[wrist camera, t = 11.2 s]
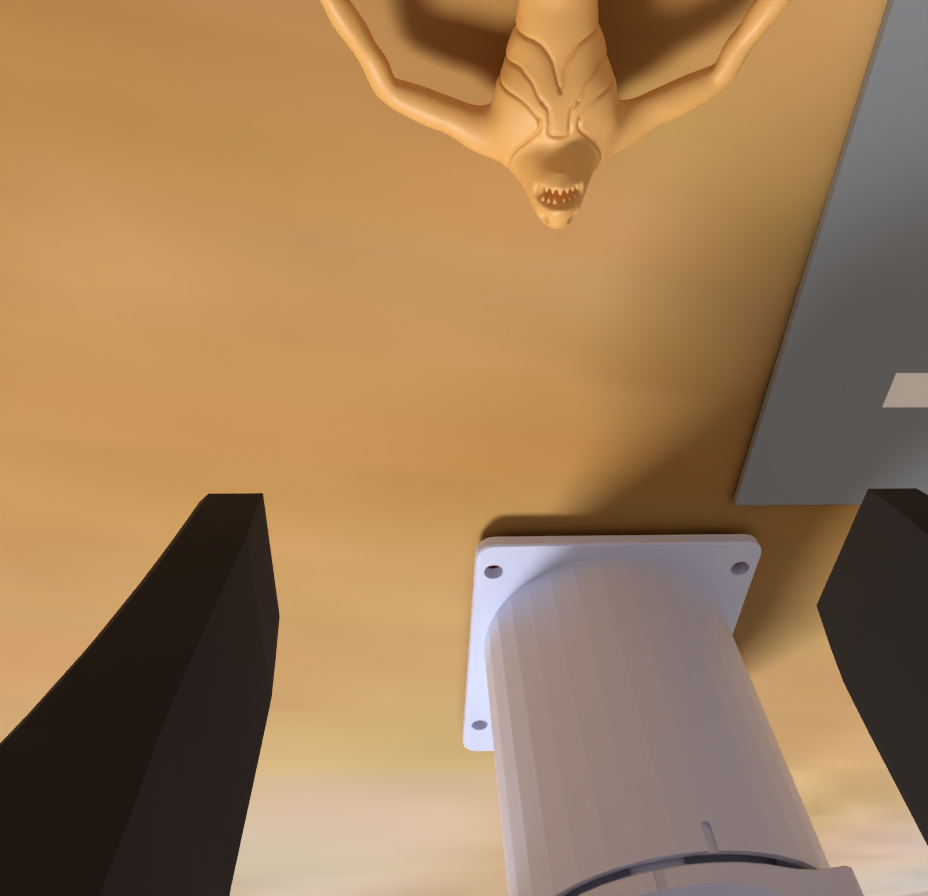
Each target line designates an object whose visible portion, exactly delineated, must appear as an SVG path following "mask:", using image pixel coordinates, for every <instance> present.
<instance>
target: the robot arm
mask: <svg viewBox="0 0 928 896" xmlns="http://www.w3.org/2000/svg"><path fill="white" fill-rule="evenodd" d="M760 556H761V547H760V545H759V543H758V542H757V540H756V538H755V537H753V536H752V535H748V534H694V535H600V536H507V537H489V538H486V539H484V540H482V541H481V542H480V543H479V544H478V545H477V547H476V550H475V564H474V578H473V592H472V606H471V621H470V635H469V649H468V663H467V678H466V692H465V706H464V720H463V744H464V746H465V747H466V748H467V749H469V750H472V751H494V757H495V767H496V777H497V787H498V796H499V806H500V816H501V825H502V835H503V845H504V855H505V864H506V874H507V884H508V893H509V896H864V895H863V892H862V890H861V888H860V886H859V883H858V881H857V879H856V877H855V874H854V872H853V870H852V868H850V867H848V866H841V867H834V868H830V866H829V864H828V861H827V859H826V856H825V854H824V852H823V849H822V847H821V845H820V842H819V840H818V837H817V835H816V833H815V830H814V828H813V826H812V823H811V821H810V818H809V816H808V814H807V811H806V809H805V807H804V804H803V802H802V799H801V797H800V795H799V792H798V790H797V788H796V785H795V783H794V780H793V778H792V776H791V773H790V771H789V769H788V766H787V764H786V761H785V759H784V757H783V754H782V752H781V750H780V747H779V745H778V743H777V740H776V738H775V735H774V733H773V731H772V728H771V726H770V724H769V721H768V719H767V716H766V714H765V712H764V709H763V707H762V705H761V702H760V700H759V697H758V695H757V693H756V690H755V688H754V686H753V683H752V681H751V678H750V676H749V674H748V671H747V669H746V667H745V664H744V662H743V659H742V657H741V655H740V652H739V650H738V648H737V645H736V643H735V640H734V638H733V636H732V634H733V632H734V629H735V626H736V623H737V620H738V618H739V615H740V612H741V609H742V606H743V604H744V601H745V598H746V595H747V592H748V590H749V587H750V584H751V581H752V578H753V576H754V573H755V570H756V567H757V564H758V561H759V559H760ZM738 562H741V563H740V564H738V565H734V564H736V563H738ZM492 565H496V566H498V567H497V568H493V569H490V568H487V567H489V566H492ZM817 608H818V611H819V614H820V617H821V620H822V623H823V626H824V629H825V632H826V635H827V638H828V641H829V644H830V647H831V650H832V653H833V655H834V658H835V661H836V663H837V666H838V669H839V671H840V674H841V677H842V679H843V682H844V684H845V686H846V688H847V690H848V692H849V694H850V696H851V698H852V700H853V702H854V704H855V706H856V708H857V710H858V712H859V714H860V716H861V718H862V720H863V722H864V724H865V726H866V728H867V730H868V732H869V734H870V736H871V737H872V739H873V741H874V743H875V745H876V747H877V749H878V751H879V753H880V755H881V757H882V759H883V761H884V763H885V764H886V766H887V768H888V770H889V772H890V774H891V776H892V778H893V780H894V782H895V784H896V786H897V787H898V789H899V791H900V793H901V795H902V797H903V799H904V801H905V803H906V805H907V807H908V809H909V811H910V812H911V814H912V816H913V818H914V820H915V822H916V824H917V826H918V828H919V830H920V832H921V834H922V836H923V837H924V839H925V841H926V843H927V845H928V495H927V494H925V493H924V492H922V491H920V490H918V489H917V488H892V489H868V490H867V492H866V495H865V497H864V499H863V501H862V504H861V506H860V508H859V510H858V513H857V515H856V517H855V520H854V522H853V524H852V526H851V529H850V531H849V533H848V535H847V538H846V540H845V542H844V545H843V547H842V549H841V551H840V554H839V556H838V558H837V560H836V563H835V565H834V567H833V570H832V572H831V574H830V576H829V579H828V581H827V583H826V585H825V588H824V590H823V592H822V594H821V597H820V599H819V601H818V604H817ZM278 626H279V609H278V602H277V594H276V587H275V580H274V572H273V565H272V557H271V550H270V543H269V535H268V528H267V521H266V513H265V506H264V499H263V493H255V494H208V495H207V496H206V497H205V498H203V499H202V500H201V501H200V502H199V504H198V505H197V506H196V508H195V509H194V511H193V512H192V514H191V515H190V516H189V518H188V519H187V521H186V522H185V523H184V525H183V526H182V528H181V529H180V530H179V532H178V533H177V535H176V536H175V537H174V539H173V540H172V541H171V543H170V544H169V546H168V547H167V548H166V550H165V551H164V552H163V554H162V555H161V556H160V558H159V559H158V560H157V562H156V563H155V564H154V566H153V567H152V568H151V570H150V571H149V572H148V573H147V575H146V576H145V577H144V579H143V580H142V581H141V583H140V584H139V585H138V586H137V588H136V589H135V590H134V591H133V593H132V594H131V595H130V596H129V598H128V599H127V600H126V601H125V603H124V604H123V605H122V606H121V608H120V609H119V610H118V611H117V612H116V614H115V615H114V616H113V617H112V619H111V620H110V621H109V622H108V624H107V625H106V626H105V627H104V629H103V630H102V631H101V632H100V634H99V635H98V636H97V637H96V638H95V640H94V641H93V642H92V643H91V644H90V645H89V647H88V648H87V649H86V650H85V651H84V652H83V654H82V655H81V656H80V657H79V658H78V659H77V660H76V661H75V662H74V664H73V665H72V666H71V667H70V668H69V669H68V670H67V671H66V673H65V674H64V675H63V676H62V677H61V678H60V679H59V680H58V681H57V683H56V684H55V685H54V686H53V687H52V688H51V689H50V690H49V692H48V693H47V694H46V695H45V696H44V697H43V698H42V699H41V701H40V702H39V703H38V704H37V705H36V706H35V707H34V708H33V709H32V711H31V712H30V713H29V714H28V715H27V716H26V717H25V718H24V719H23V720H22V721H21V722H20V723H19V724H18V725H17V726H16V727H15V728H14V730H13V731H12V732H11V733H10V734H9V735H8V736H7V737H6V738H5V739H4V740H3V741H2V742H1V743H0V896H229V895H230V889H231V884H232V880H233V875H234V870H235V866H236V861H237V856H238V852H239V847H240V842H241V838H242V833H243V829H244V824H245V819H246V815H247V810H248V805H249V801H250V796H251V791H252V787H253V782H254V778H255V773H256V768H257V764H258V759H259V754H260V749H261V745H262V740H263V735H264V731H265V726H266V721H267V716H268V711H269V707H270V702H271V697H272V687H273V678H274V668H275V659H276V648H277V637H278Z"/></svg>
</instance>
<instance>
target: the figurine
mask: <svg viewBox="0 0 928 896" xmlns="http://www.w3.org/2000/svg"><path fill="white" fill-rule="evenodd" d="M320 1H321V3H322V5H323V7H324V9H325V11H326V13H327V15H328V17H329V19H330V21H331V23H332V24H333V26H334V27H335V29H336V30H337V31H338V33H339V34H340V35H341V37H342V38H343V39H344V41H345V42H346V43H347V45H348V46H349V47H350V49H351V50H352V51H353V53H354V54H355V55H356V57H357V58H358V60H359V62H360V64H361V66H362V68H363V70H364V72H365V74H366V77H367V79H368V81H369V83H370V85H371V87H372V89H373V91H374V92H375V93H376V95H377V96H378V97H379V98H380V99H381V100H382V101H383V102H385V103H386V104H387V105H388V106H390V107H391V108H393V109H394V110H396V111H398V112H399V113H401V114H403V115H405V116H407V117H409V118H411V119H413V120H415V121H417V122H419V123H421V124H423V125H425V126H427V127H430V128H433V129H436V130H438V131H441V132H443V133H446V134H448V135H450V136H451V137H453V138H455V139H456V140H457V141H459V142H460V143H462V144H463V145H465V146H466V147H468V148H469V149H471V150H473V151H475V152H477V153H479V154H482V155H485V156H487V157H490V158H492V159H495V160H497V161H499V162H500V163H502V164H503V165H504V166H506V167H507V168H509V169H510V171H511V172H512V173H513V174H514V175H515V176H516V177H517V178H518V180H519V181H520V182H521V184H522V186H523V187H524V189H525V191H526V193H527V195H528V197H529V199H530V201H531V204H532V206H533V208H534V210H535V212H536V214H537V215H538V217H539V218H540V219H541V221H542V222H543V223H545V224H546V225H547V226H549V227H552V228H562V227H564V226H566V225H568V224H569V223H570V222H571V221H572V220H573V218H574V217H575V216H576V214H577V213H578V211H579V208H580V206H581V203H582V201H583V198H584V195H585V192H586V189H587V186H588V183H589V181H590V178H591V176H592V174H593V172H594V171H595V169H596V168H597V167H598V166H599V164H600V163H601V162H603V161H604V160H605V159H606V158H607V157H609V156H610V155H612V154H614V153H616V152H618V151H620V150H622V149H624V148H626V147H628V146H630V145H632V144H634V143H635V142H637V141H638V140H639V139H641V138H642V137H643V136H645V135H646V134H647V133H649V132H650V131H652V130H653V129H654V128H656V127H658V126H659V125H661V124H663V123H665V122H668V121H670V120H673V119H675V118H677V117H679V116H681V115H683V114H685V113H687V112H689V111H690V110H692V109H694V108H696V107H697V106H699V105H701V104H703V103H704V102H706V101H708V100H709V99H711V98H712V97H714V96H715V95H717V94H718V93H719V92H720V91H721V90H723V89H724V88H725V87H726V86H727V85H728V84H729V83H730V82H731V81H732V80H733V79H734V78H735V76H736V75H737V73H738V72H739V70H740V68H741V66H742V65H743V63H744V61H745V59H746V57H747V56H748V54H749V52H750V50H751V49H752V47H753V46H754V44H755V43H756V42H757V40H758V39H759V38H760V37H761V36H762V35H763V33H764V32H765V31H766V30H767V29H768V27H769V26H770V25H771V24H772V23H773V22H774V21H775V19H776V18H777V17H778V16H779V15H780V14H781V12H782V11H783V10H784V9H785V7H786V6H787V5H788V3H789V2H790V0H756V1H755V2H754V3H753V5H752V6H751V7H750V9H749V10H748V12H747V13H746V15H745V17H744V18H743V20H742V22H741V23H740V25H739V26H738V27H737V29H736V30H735V31H734V32H733V34H732V35H731V36H730V37H729V39H728V40H727V41H726V43H725V45H724V46H723V48H722V50H721V53H720V55H719V57H718V59H717V61H716V63H715V64H714V65H712V66H709V67H706V68H704V69H701V70H698V71H696V72H693V73H690V74H688V75H685V76H683V77H681V78H678V79H676V80H674V81H672V82H669V83H667V84H665V85H663V86H661V87H658V88H656V89H654V90H652V91H650V92H648V93H645V94H643V95H641V96H639V97H636V98H633V99H629V100H619V99H618V94H617V84H616V79H615V76H614V74H613V70H612V67H611V65H610V62H609V59H608V56H607V54H606V53H607V48H606V42H605V38H604V35H603V32H602V30H601V27H600V25H599V23H598V20H599V14H598V0H518V3H517V9H516V16H515V21H516V25H515V26H514V27H513V30H512V33H511V35H510V38H509V41H508V44H507V48H506V56H505V58H504V62H503V66H502V68H501V71H500V74H501V75H499V76H498V79H497V82H496V87H495V91H494V97H493V101H492V102H491V103H490V104H488V105H483V106H477V105H472V104H468V103H465V102H463V101H460V100H458V99H455V98H452V97H450V96H447V95H444V94H442V93H439V92H437V91H434V90H431V89H429V88H426V87H423V86H420V85H417V84H414V83H410V82H407V81H404V80H400V79H397V78H395V77H394V75H393V73H392V71H391V68H390V65H389V62H388V60H387V58H386V56H385V55H384V53H383V52H382V50H381V49H380V48H379V46H378V45H377V44H376V42H375V41H374V39H373V37H372V35H371V33H370V31H369V29H368V27H367V25H366V23H365V22H364V20H363V18H362V17H361V15H360V14H359V12H358V11H357V9H356V8H355V7H354V5H353V4H352V3H351V1H350V0H320ZM491 1H496V0H491Z"/></svg>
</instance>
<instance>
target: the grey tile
mask: <svg viewBox="0 0 928 896" xmlns="http://www.w3.org/2000/svg"><path fill="white" fill-rule="evenodd" d="M892 488H917V489H918V490H920V491H922V492H924V493H925V494H927V495H928V0H888V3H887V6H886V10H885V13H884V16H883V19H882V22H881V26H880V29H879V32H878V35H877V38H876V42H875V45H874V48H873V51H872V55H871V58H870V61H869V64H868V67H867V71H866V74H865V77H864V80H863V83H862V87H861V90H860V93H859V96H858V100H857V103H856V106H855V109H854V112H853V116H852V119H851V122H850V125H849V128H848V132H847V135H846V138H845V141H844V144H843V148H842V151H841V154H840V157H839V161H838V164H837V167H836V170H835V173H834V177H833V180H832V183H831V186H830V189H829V193H828V196H827V199H826V202H825V206H824V209H823V212H822V215H821V218H820V222H819V225H818V228H817V231H816V234H815V238H814V241H813V244H812V247H811V251H810V254H809V257H808V260H807V263H806V267H805V270H804V273H803V276H802V279H801V283H800V286H799V289H798V292H797V296H796V299H795V302H794V305H793V308H792V312H791V315H790V318H789V321H788V324H787V328H786V331H785V334H784V337H783V341H782V344H781V347H780V350H779V353H778V357H777V360H776V363H775V366H774V369H773V373H772V376H771V379H770V382H769V386H768V389H767V392H766V395H765V398H764V402H763V405H762V408H761V411H760V414H759V418H758V421H757V424H756V427H755V431H754V434H753V437H752V440H751V443H750V447H749V450H748V453H747V456H746V459H745V463H744V466H743V469H742V472H741V476H740V479H739V482H738V485H737V488H736V492H735V495H734V498H733V502H734V504H735V506H738V505H861V504H862V501H863V499H864V497H865V495H866V492H867V490H868V489H892Z"/></svg>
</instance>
